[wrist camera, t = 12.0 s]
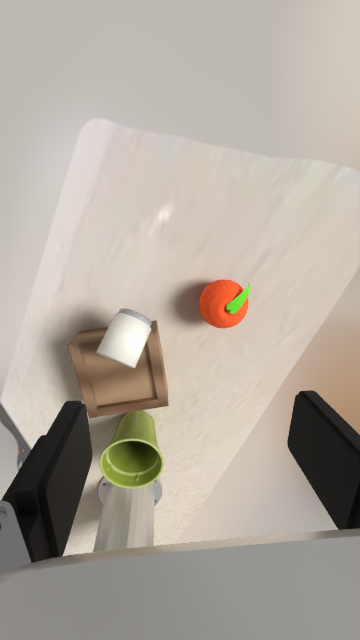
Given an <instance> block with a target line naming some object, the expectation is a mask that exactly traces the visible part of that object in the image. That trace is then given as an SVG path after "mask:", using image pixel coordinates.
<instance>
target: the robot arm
mask: <svg viewBox="0 0 360 640" xmlns="http://www.w3.org/2000/svg"><path fill="white" fill-rule="evenodd" d="M288 448H289V450H290V452H291V453H292V455H293V456H294V458H295V460H296V462H297V463H298V465H299V467H300V468H301V470H302V471H303V473H304V475H305V476H306V478H307V480H308V481H309V483H310V484H311V486H312V488H313V489H314V491H315V492H316V494H317V496H318V497H319V499H320V501H321V502H322V504H323V505H324V507H325V509H326V510H327V511H328V514H329V515H330V517H331V518H332V520H333V522H334V523H335V525H336V527H337V528H338V529H339V530H331V531H319V532H308V533H307V532H306V533H295V534H282V535H271V536H259V537H248V538H236V539H225V540H215V541H202V542H191V543H181V544H170V545H160V546H153V545H154V506H155V505H156V504H157V503H158V502H159V500H160V498H161V496H162V483H161V481H160V479H159V477H158V478H157V479H156V480H155V481H154V482H152V483H151V484H149V485H147V486H144V487H141V488H135V489H128V488H122V487H118V486H116V485H114V484H112V483H111V482H109V481H108V480H107V479H106V478H105V477H103V478H102V480H101V482H100V484H99V487H98V498H99V500H100V502H101V503H102V505H103V507H102V512H101V517H100V521H99V526H98V531H97V535H96V540H95V545H94V550H93V552H92V553H83V554H75V555H68V556H63V557H62V555H63V553H64V550H65V547H66V544H67V541H68V537H69V534H70V531H71V528H72V524H73V521H74V518H75V514H76V511H77V508H78V505H79V501H80V498H81V495H82V491H83V488H84V485H85V482H86V478H87V475H88V472H89V468H90V465H91V462H92V447H91V440H90V432H89V425H88V417H87V409H86V405H85V404H82V403H81V401H66V402H65V403H64V405H63V407H62V409H61V410H60V412H59V414H58V415H57V417H56V419H55V421H54V422H53V424H52V426H51V428H50V429H49V431H48V433H47V435H42V436H41V437H40V438H39V439H38V440H37V442H36V444H35V445H34V447H33V449H32V450H31V452H30V454H29V455H28V457H27V459H26V460H25V462H24V463H23V465H22V467H21V468H20V470H19V472H18V473H17V475H16V477H15V478H14V480H13V482H12V484H11V485H10V487H9V488H8V490H7V492H6V493H5V495H4V496H3V499H2V500H1V501H0V640H360V435H359V434H358V433H357V432H356V431H355V430H354V429H353V428H352V427H351V426H350V425H349V424H348V423H347V422H346V421H345V420H344V419H343V418H342V417H340V415H339V414H338V413H337V412H336V411H335V410H334V409H333V408H332V407H331V406H330V405H328V404H327V403H326V402H325V401H324V400H323V399H322V398H321V397H320V396H319V395H318V394H317V393H316V392H315V391H300V392H299V394H298V395H296V397H295V402H294V407H293V413H292V419H291V425H290V430H289V436H288Z"/></svg>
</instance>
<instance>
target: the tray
mask: <svg viewBox="0 0 360 640" xmlns="http://www.w3.org/2000/svg"><path fill="white" fill-rule="evenodd" d="M151 323H152V324H151V326H150V328H151V332H150V334H149V337H148V339H147V341H146V344H145V346H144V348H143V351H142V353H141V355H140V358H139V360H138V362H137V365H136V367H135V368H130V367H126V366H124V365H121V364H118V363H116V362H113V361H111V360H109V359H107V358H104V357H102V356H101V355H99V354H97V353H96V352H97V350H98V348H99V346H100V344H101V342H102V340H103V338H104V335H105V333H106V331H107V329H108V328H101V329H94V330H87V331H80V332H79V333H78V335H77V336H76V337H75V338H74V339H73V340H72V342H71V343H70V344H69V345H68V347H69V351H70V354H71V358H72V361H73V365H74V368H75V371H76V375H77V378H78V382H79V385H80V388H81V392H82V395H83V399H84V402H85V405H86V409H87V412H88V416H89V418H94V417H100V416H106V415H113V414H119V413H126V412H132V411H139V410H145V409H151V408H158V407H164V406H168V389H167V381H166V375H165V369H164V362H163V356H162V350H161V344H160V338H159V332H158V326H157V321H151Z"/></svg>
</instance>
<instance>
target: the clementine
mask: <svg viewBox="0 0 360 640" xmlns="http://www.w3.org/2000/svg"><path fill="white" fill-rule="evenodd" d="M249 290H250V283H249V285H248V287H247V288H246V289H245V290H243V288H242V287H241V286H240V285H238V284H237V283H236V282H233V281H230V280H217V281H215V282H212V283H210V284H209V285H208V286H207V287H206V288H205V289H204V290H203V292H202V294H201V296H200V300H199V308H200V312H201V315H202V317H203V318H204V319H205V321H206V322H208V323H209V324H211V325H212V326H214V327H217V328H229V327H232V326H235V325H237V324H238V323H239V322H241V320H242V319H243V318H244V317H245V315H246V313H247V309H248V298H247V296H248V293H249Z"/></svg>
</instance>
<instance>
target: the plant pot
mask: <svg viewBox="0 0 360 640" xmlns="http://www.w3.org/2000/svg"><path fill="white" fill-rule="evenodd" d="M99 465H100V470H101V472H102V474H103V476H104V477H105V478H106V479H107V480H108V481H109V482H111V483H112V484H114V485H116V486H118V487H122V488H128V489H135V488H141V487H144V486H147V485H149V484H151V483H152V482H154V481H155V480H156V479H157V478H158V477H159V476H160V474H161V473H162V470H163V467H164V460H163V456H162V453H161V452H160V450H159V448H158V445H157V438H156V432H155V424H154V420H153V418H152V417H151V416H150V415H148V414H147V413H146V412H144V411H140V410H139V411H132V412H128V413H127V414H126V415H125V416H124V417H123V418H122V419H121V421H120V423H119V426H118V428H117V430H116V433H115V435H114V437H113V440H112V442H111V443H110V444H109V446H108V447H106V449H105V450H104V451H103V453H102V455H101V457H100V462H99Z"/></svg>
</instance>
